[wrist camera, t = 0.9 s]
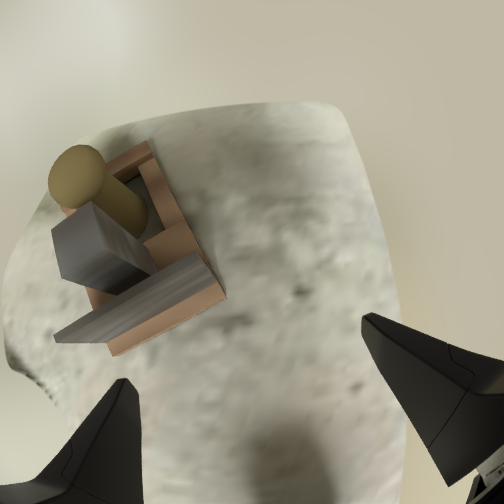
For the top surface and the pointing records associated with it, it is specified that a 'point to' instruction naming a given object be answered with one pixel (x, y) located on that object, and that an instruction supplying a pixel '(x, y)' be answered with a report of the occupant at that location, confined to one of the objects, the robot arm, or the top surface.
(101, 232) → the wooden shape sorter tray
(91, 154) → the tan rounded peg
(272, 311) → the top surface
